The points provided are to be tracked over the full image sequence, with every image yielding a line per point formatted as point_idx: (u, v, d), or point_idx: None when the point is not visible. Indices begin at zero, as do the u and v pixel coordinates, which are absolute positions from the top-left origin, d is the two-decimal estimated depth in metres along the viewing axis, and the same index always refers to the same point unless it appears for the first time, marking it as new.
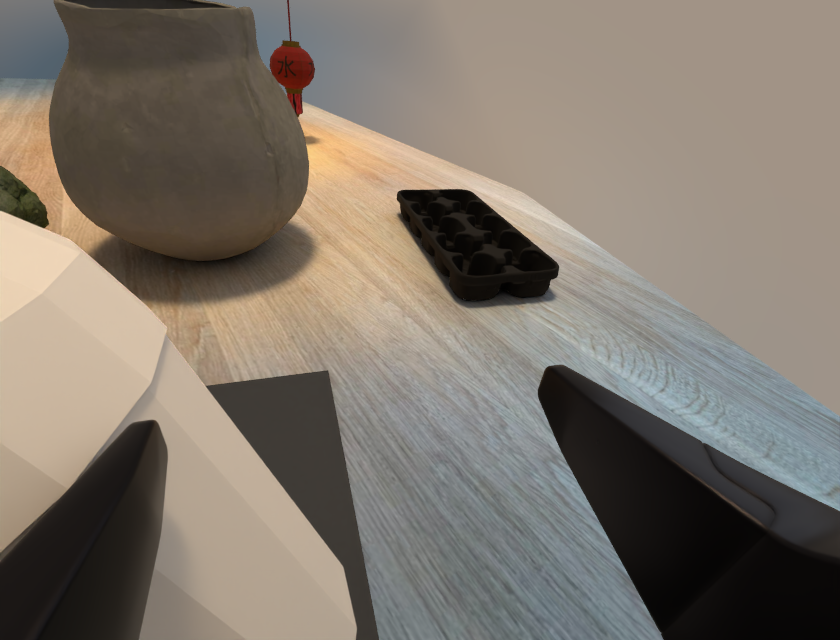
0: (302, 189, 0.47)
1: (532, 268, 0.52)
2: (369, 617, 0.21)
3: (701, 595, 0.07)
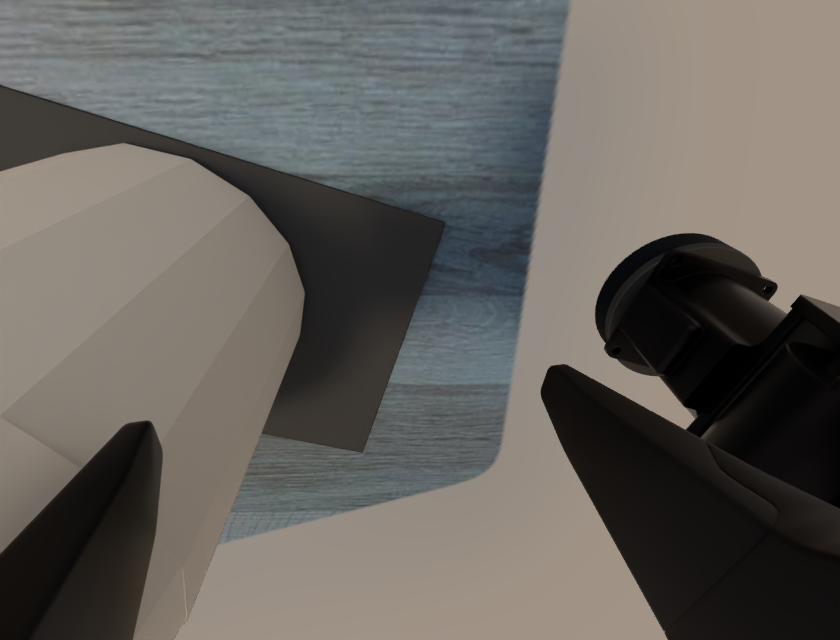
0: None
1: None
2: (136, 135, 0.17)
3: (705, 594, 0.07)
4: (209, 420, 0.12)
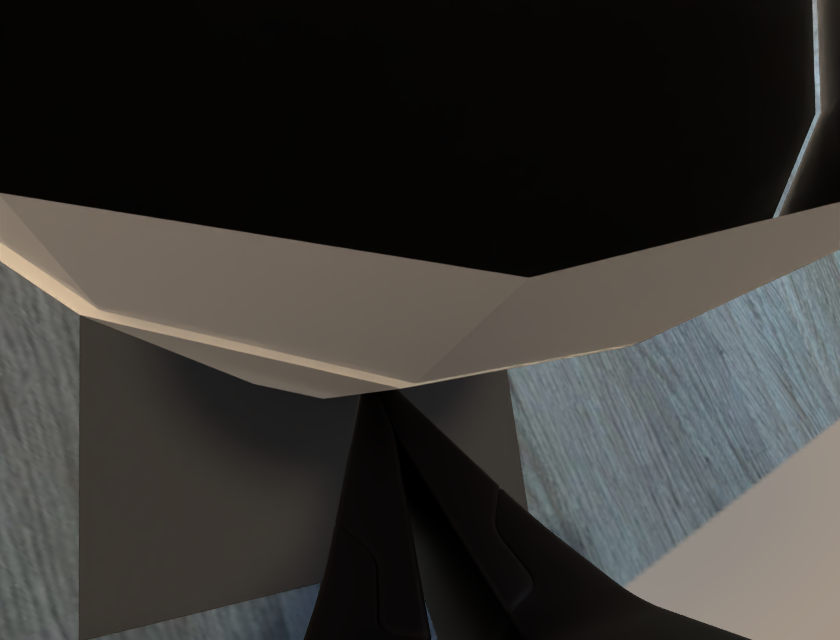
0: None
1: None
2: None
3: None
4: None
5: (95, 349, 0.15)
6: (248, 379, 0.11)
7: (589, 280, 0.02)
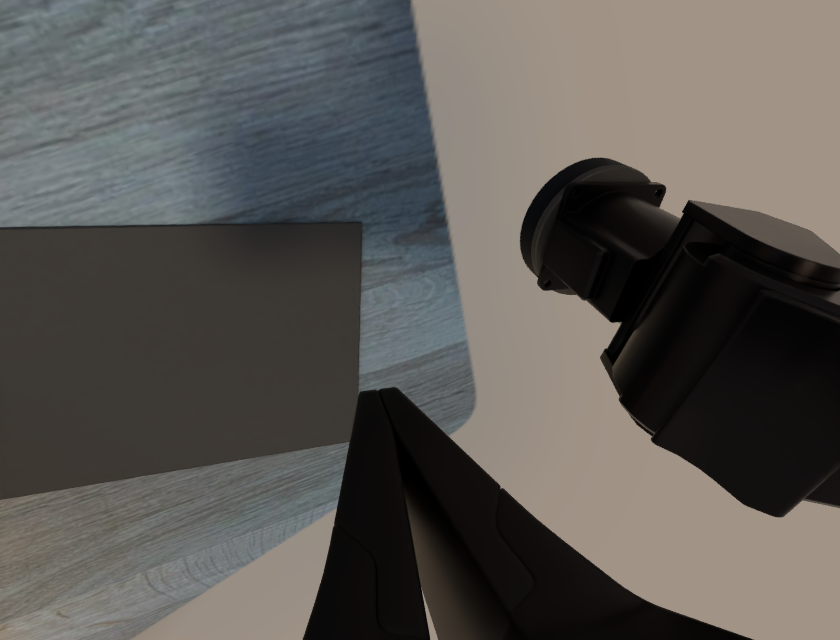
0: None
1: None
2: (28, 235, 0.17)
3: None
4: None
5: (212, 459, 0.27)
6: None
7: None
